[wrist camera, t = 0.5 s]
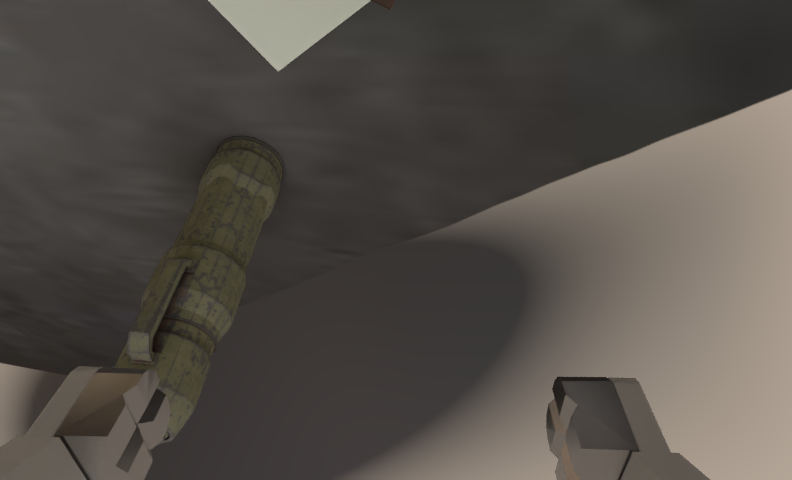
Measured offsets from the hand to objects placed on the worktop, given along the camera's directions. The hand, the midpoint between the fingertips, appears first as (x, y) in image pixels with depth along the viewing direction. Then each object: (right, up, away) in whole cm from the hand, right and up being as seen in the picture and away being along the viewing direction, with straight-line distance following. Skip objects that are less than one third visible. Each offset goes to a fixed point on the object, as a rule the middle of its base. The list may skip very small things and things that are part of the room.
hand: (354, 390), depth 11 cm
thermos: (-18, +13, +55) cm, 60 cm away
